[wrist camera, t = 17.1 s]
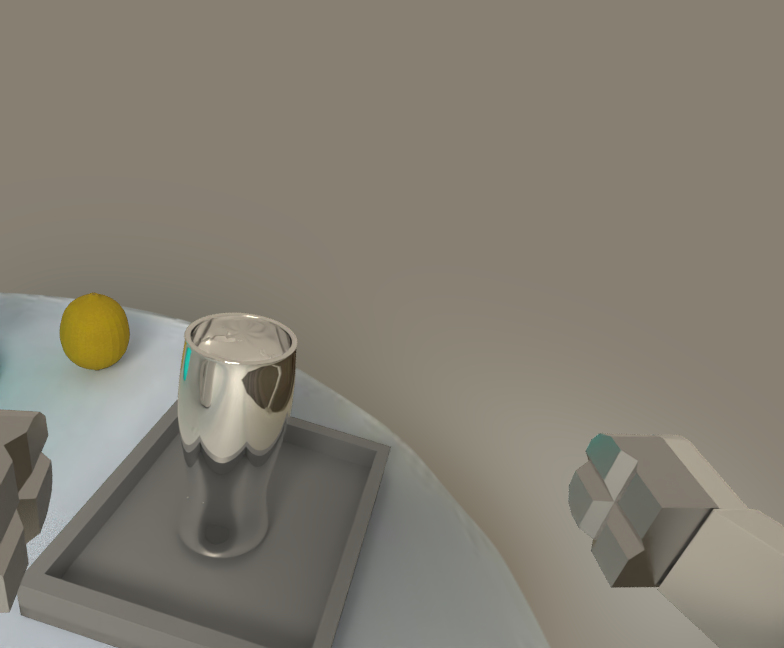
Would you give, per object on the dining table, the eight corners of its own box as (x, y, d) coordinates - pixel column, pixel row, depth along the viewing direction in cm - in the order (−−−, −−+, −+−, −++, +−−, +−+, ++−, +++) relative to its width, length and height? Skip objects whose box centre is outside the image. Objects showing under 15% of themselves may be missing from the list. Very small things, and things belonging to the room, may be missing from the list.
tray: (20, 615, 35) (15, 583, 33) (188, 412, 52) (189, 385, 50) (311, 712, 33) (319, 684, 32) (383, 472, 51) (390, 446, 49)
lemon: (116, 392, 52) (114, 315, 48) (51, 382, 51) (43, 303, 48) (138, 357, 57) (138, 285, 53) (79, 347, 56) (74, 273, 52)
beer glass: (206, 480, 45) (219, 301, 39) (290, 509, 44) (317, 330, 38) (149, 543, 39) (155, 342, 32) (245, 579, 37) (270, 378, 31)
